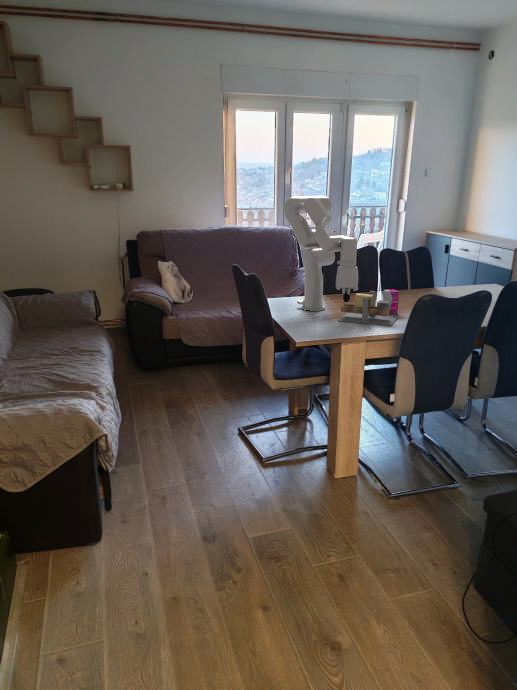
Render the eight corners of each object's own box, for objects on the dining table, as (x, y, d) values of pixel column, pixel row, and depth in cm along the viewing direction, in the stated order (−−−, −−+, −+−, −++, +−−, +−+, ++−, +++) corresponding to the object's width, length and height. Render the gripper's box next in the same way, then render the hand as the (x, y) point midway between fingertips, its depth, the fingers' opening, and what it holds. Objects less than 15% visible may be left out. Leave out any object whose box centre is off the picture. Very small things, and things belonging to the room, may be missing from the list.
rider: (354, 309, 246) (355, 294, 244) (356, 307, 250) (357, 293, 248) (370, 310, 243) (371, 296, 241) (372, 309, 247) (373, 294, 245)
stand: (337, 321, 245) (338, 295, 241) (347, 313, 260) (348, 289, 256) (390, 326, 235) (392, 299, 231) (397, 317, 250) (399, 292, 246)
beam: (340, 311, 248) (341, 296, 246) (344, 308, 254) (345, 293, 252) (386, 316, 240) (387, 300, 237) (389, 313, 245) (390, 297, 243)
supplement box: (387, 314, 256) (389, 291, 253) (381, 311, 262) (383, 289, 259) (398, 313, 258) (399, 291, 254) (392, 311, 263) (393, 289, 260)
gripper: (330, 264, 243) (329, 302, 249) (361, 266, 237) (359, 304, 243) (334, 261, 250) (333, 298, 255) (365, 263, 244) (363, 301, 250)
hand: (346, 301), depth 249 cm, fingers closed
